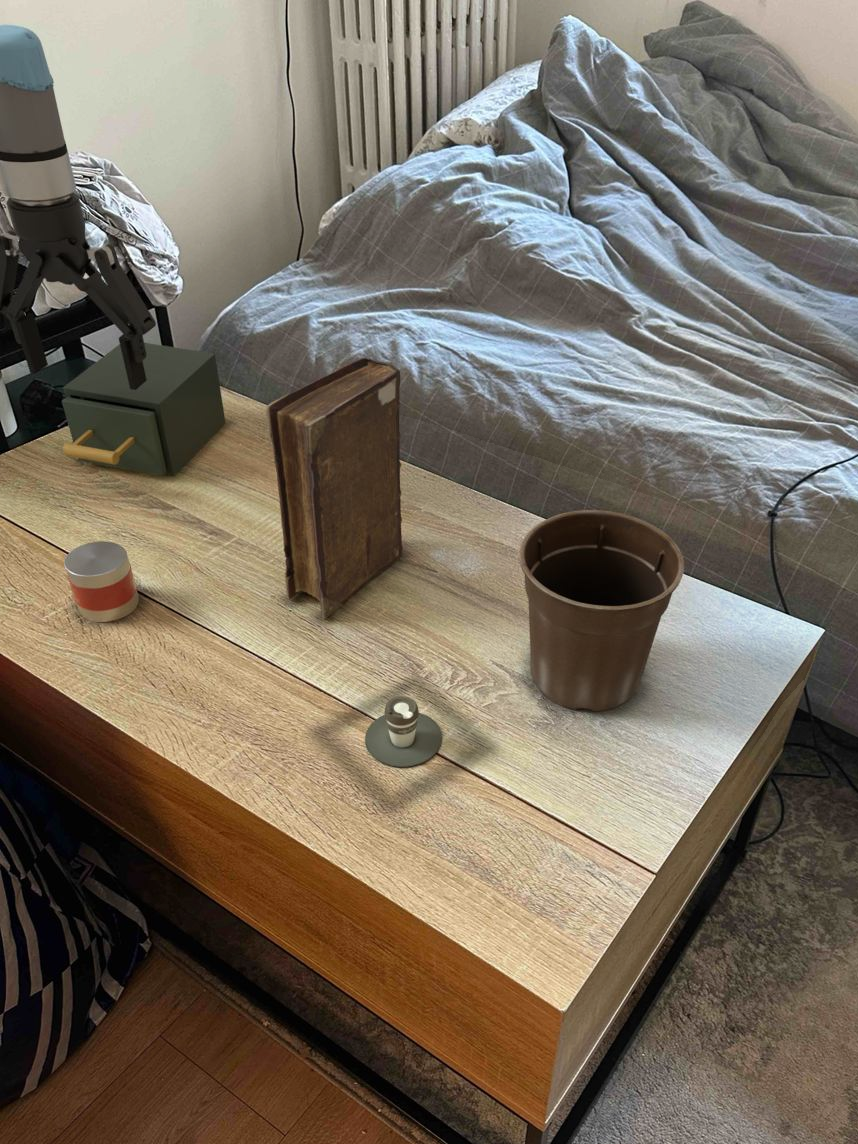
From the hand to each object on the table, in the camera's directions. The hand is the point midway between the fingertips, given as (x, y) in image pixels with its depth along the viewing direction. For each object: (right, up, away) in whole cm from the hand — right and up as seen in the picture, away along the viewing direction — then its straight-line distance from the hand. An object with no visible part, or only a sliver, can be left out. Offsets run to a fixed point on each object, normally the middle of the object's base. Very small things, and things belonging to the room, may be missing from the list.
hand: (88, 377), depth 120 cm
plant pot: (+61, -37, -14) cm, 73 cm away
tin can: (+6, -29, -9) cm, 31 cm away
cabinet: (+2, -4, +18) cm, 19 cm away
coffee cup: (+41, -44, -23) cm, 64 cm away
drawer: (+1, -6, +14) cm, 15 cm away
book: (+34, -26, -3) cm, 42 cm away
